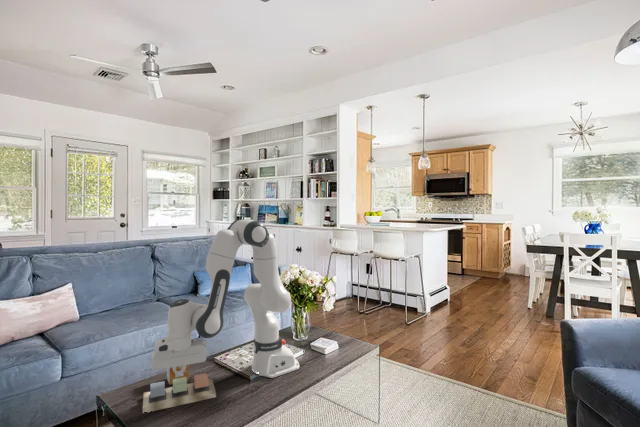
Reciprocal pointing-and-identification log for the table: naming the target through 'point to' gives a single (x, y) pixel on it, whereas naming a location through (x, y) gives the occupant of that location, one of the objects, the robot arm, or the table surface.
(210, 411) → the table surface
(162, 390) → the slate button
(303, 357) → the table surface
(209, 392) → the button board
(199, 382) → the terracotta button
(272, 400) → the table surface
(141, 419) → the table surface
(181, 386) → the sage button
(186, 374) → the small box
